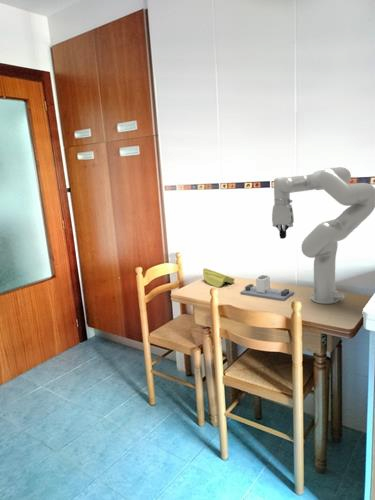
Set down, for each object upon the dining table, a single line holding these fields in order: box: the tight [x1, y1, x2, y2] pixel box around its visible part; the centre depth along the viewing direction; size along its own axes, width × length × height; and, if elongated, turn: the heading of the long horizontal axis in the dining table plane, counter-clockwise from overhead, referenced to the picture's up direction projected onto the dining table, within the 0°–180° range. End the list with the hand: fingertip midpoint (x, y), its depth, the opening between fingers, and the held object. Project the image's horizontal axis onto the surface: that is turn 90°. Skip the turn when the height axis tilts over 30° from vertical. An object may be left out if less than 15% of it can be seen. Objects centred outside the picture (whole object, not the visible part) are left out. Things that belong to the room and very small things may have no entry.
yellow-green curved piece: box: [202, 267, 235, 288], centre depth 225 cm, size 20×7×10 cm
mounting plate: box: [239, 287, 295, 302], centre depth 198 cm, size 24×12×1 cm, turn 52°
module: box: [255, 275, 271, 293], centre depth 199 cm, size 4×6×8 cm
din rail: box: [244, 283, 290, 296], centre depth 198 cm, size 22×5×2 cm, turn 52°
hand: (282, 238), depth 199 cm, fingers closed
